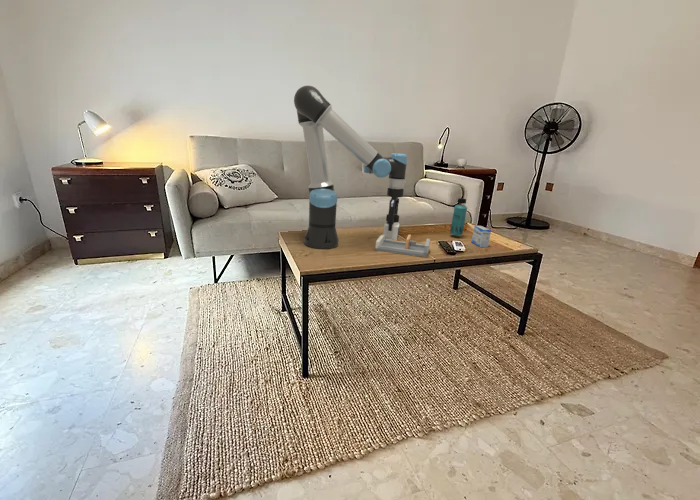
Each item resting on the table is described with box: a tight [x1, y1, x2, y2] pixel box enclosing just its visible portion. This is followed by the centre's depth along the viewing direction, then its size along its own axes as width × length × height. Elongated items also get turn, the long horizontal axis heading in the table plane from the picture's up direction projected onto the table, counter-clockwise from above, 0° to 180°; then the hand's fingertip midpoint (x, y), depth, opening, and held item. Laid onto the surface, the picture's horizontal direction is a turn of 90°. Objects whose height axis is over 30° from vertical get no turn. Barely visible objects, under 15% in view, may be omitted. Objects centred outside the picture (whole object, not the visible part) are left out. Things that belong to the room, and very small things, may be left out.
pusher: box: [405, 234, 417, 249], centre depth 150 cm, size 4×8×5 cm, turn 164°
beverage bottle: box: [449, 197, 468, 237], centre depth 176 cm, size 6×7×20 cm
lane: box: [375, 234, 431, 258], centre depth 151 cm, size 22×12×5 cm, turn 74°
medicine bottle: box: [382, 213, 401, 241], centre depth 167 cm, size 7×7×12 cm
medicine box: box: [471, 225, 492, 248], centre depth 166 cm, size 8×4×9 cm, turn 12°
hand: (390, 234), depth 168 cm, fingers closed on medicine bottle, 7 cm apart
